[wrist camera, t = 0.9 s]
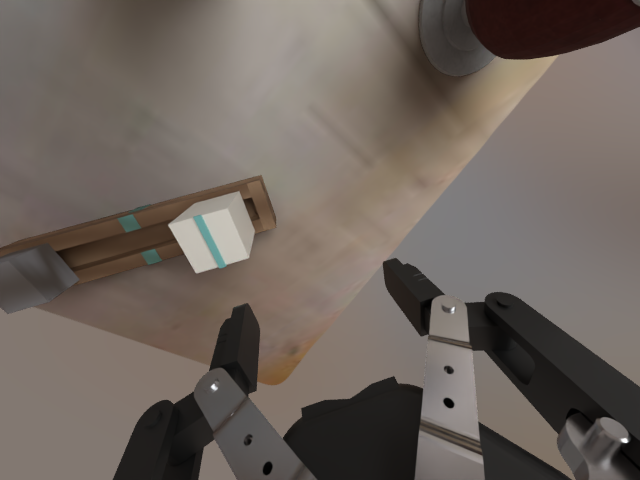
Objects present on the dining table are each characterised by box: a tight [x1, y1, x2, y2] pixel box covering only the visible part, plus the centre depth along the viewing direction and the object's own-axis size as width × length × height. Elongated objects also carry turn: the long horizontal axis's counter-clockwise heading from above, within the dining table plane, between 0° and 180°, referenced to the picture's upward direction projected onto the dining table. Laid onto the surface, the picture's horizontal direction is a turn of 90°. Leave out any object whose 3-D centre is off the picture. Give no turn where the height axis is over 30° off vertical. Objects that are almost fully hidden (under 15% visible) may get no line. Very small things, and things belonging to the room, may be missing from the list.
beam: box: [0, 175, 276, 314], centre depth 26 cm, size 6×30×8 cm, turn 103°
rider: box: [168, 191, 255, 274], centre depth 24 cm, size 5×5×9 cm
